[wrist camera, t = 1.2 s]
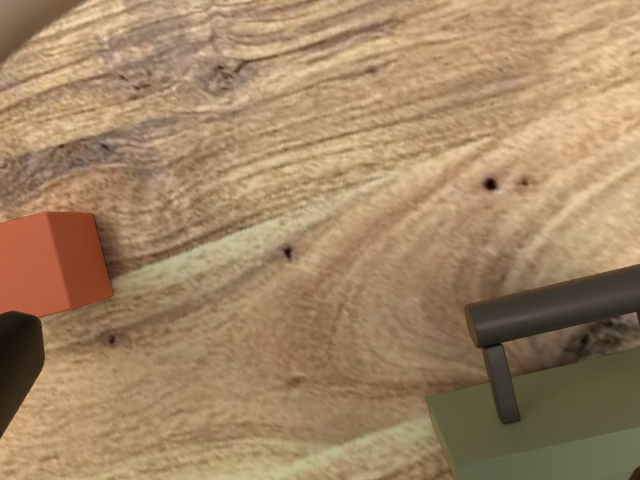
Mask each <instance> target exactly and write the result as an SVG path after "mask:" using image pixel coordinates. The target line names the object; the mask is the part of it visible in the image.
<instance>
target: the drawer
mask: <svg viewBox="0 0 640 480" xmlns="http://www.w3.org/2000/svg"><path fill="white" fill-rule="evenodd" d="M464 311H465V318H466V323H467V326H468V330H469V333H470V336H471V339H472V341H473V343H474V345H475V346H476V347H477V348H481V349H482V353H483V357H484V361H485V365H486V370H487V374H488V378H489V383H484V384H480V385H476V386H471V387H467V388H462V389H458V390H453V391H449V392H445V393H440V394H436V395H431V396H427V397H426V401H427V405H428V409H429V413H430V417H431V421H432V425H433V428H434V430H435V432H436V435H437V437H438V440H439V442H440V445H441V447H442V450H443V452H444V455H445V457H446V460H447V462H448V464H449V467H450V469H451V472H452V474H453V477H454V479H455V480H628V479H629V478H630V476H631V475H632V473H633V472H634V470H635V469H636V468H637V467H638V466H640V348H639V349H634V350H630V351H625V352H621V353H617V354H612V355H608V356H603V357H599V358H595V359H590V360H586V361H581V362H577V363H573V364H568V365H564V366H559V367H555V368H551V369H546V370H542V371H537V372H533V373H528V374H524V375H520V376H515V377H511V376H510V372H509V368H508V363H507V359H506V355H505V351H504V347H503V345H502V344H501V343H503V342H507V341H511V340H516V339H520V338H525V337H529V336H533V335H538V334H542V333H546V332H551V331H555V330H559V329H564V328H568V327H572V326H577V325H581V324H585V323H590V322H594V321H598V320H603V319H607V318H611V317H616V316H620V315H624V314H629V313H633V312H637V316H638V320H639V325H640V264H637V265H633V266H629V267H625V268H620V269H616V270H612V271H608V272H603V273H599V274H595V275H591V276H586V277H582V278H578V279H574V280H569V281H565V282H561V283H557V284H552V285H548V286H544V287H540V288H535V289H531V290H527V291H523V292H518V293H514V294H510V295H506V296H501V297H497V298H493V299H489V300H485V301H480V302H476V303H472V304H468V305H465V309H464Z"/></svg>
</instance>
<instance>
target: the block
mask: <svg viewBox="0 0 640 480" xmlns="http://www.w3.org/2000/svg"><path fill="white" fill-rule="evenodd" d="M112 296H113V292H112V288H111V284H110V280H109V276H108V272H107V268H106V264H105V260H104V256H103V253H102V249H101V245H100V241H99V237H98V233H97V229H96V225H95V221H94V217H93V214H92V213H74V212H42V213H38V214H34V215H30V216H27V217H23V218H19V219H15V220H11V221H7V222H3V223H0V314H2V313H5V312H8V311H19V312H23V313H27V314H32V315H35V316H37V317H38V318H41V317H45V316H49V315H53V314H57V313H61V312H65V311H69V310H73V309H76V308H79V307H82V306H85V305H88V304H91V303H94V302H97V301H101V300H104V299H107V298H110V297H112Z"/></svg>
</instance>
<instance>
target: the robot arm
mask: <svg viewBox="0 0 640 480" xmlns="http://www.w3.org/2000/svg"><path fill="white" fill-rule="evenodd" d="M44 360H45V352H44V343H43V334H42V325H41V321H40V319H39V318H38V317H37V316H35V315H32V314H27V313H23V312H19V311H8V312H5V313H2V314H0V439H1V437H2V435H3V434H4V432H5V430H6V429H7V427H8V425H9V424H10V422H11V420H12V419H13V417H14V415H15V414H16V412H17V410H18V409H19V407H20V406H21V404H22V402H23V401H24V399H25V397H26V396H27V394H28V392H29V391H30V389H31V387H32V386H33V384H34V382H35V381H36V379H37V377H38V376H39V374H40V372H41V370H42V368H43V365H44ZM628 480H640V466H638V467H637V468H636V469H635V470H634V472H633V473H632V475H631V476H630V478H629V479H628Z"/></svg>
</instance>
